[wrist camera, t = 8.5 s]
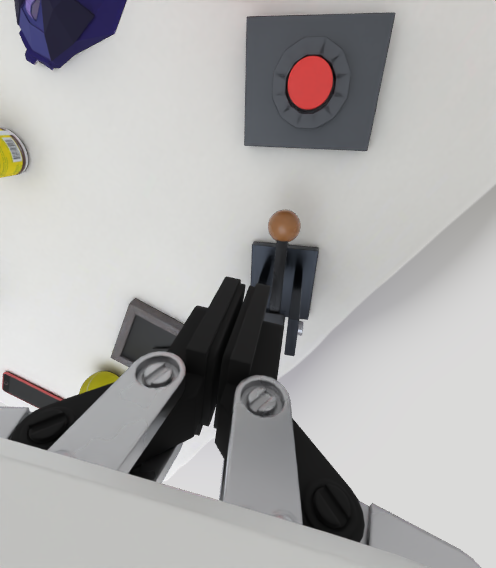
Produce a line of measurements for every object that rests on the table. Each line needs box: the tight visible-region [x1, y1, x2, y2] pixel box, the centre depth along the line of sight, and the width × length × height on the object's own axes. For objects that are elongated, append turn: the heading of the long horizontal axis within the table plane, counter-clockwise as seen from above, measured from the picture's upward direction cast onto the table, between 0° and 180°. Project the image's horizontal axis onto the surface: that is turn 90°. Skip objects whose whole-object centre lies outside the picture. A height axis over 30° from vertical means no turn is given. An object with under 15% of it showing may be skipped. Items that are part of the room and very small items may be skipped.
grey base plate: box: [244, 13, 395, 151], centre depth 27 cm, size 12×10×4 cm
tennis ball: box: [79, 371, 119, 394], centre depth 53 cm, size 7×7×7 cm
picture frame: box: [111, 298, 184, 367], centre depth 48 cm, size 13×2×18 cm
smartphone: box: [2, 372, 63, 409], centre depth 63 cm, size 7×1×14 cm
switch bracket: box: [251, 242, 318, 356], centre depth 34 cm, size 10×8×12 cm
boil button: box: [288, 56, 333, 110], centre depth 24 cm, size 4×4×2 cm
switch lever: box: [264, 210, 301, 325], centre depth 30 cm, size 13×3×3 cm, turn 178°
